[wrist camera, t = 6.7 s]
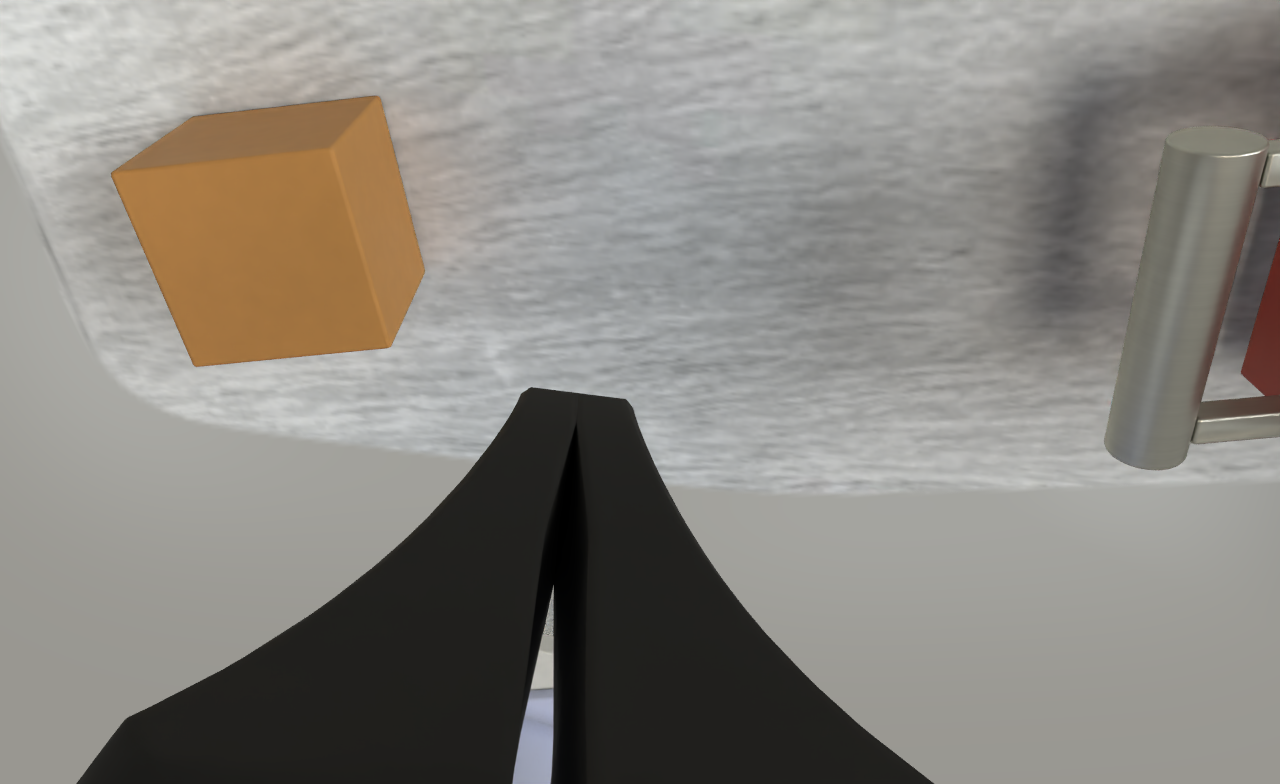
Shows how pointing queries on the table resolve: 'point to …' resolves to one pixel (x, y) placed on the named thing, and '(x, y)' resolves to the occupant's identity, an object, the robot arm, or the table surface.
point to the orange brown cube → (277, 230)
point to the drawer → (1196, 303)
